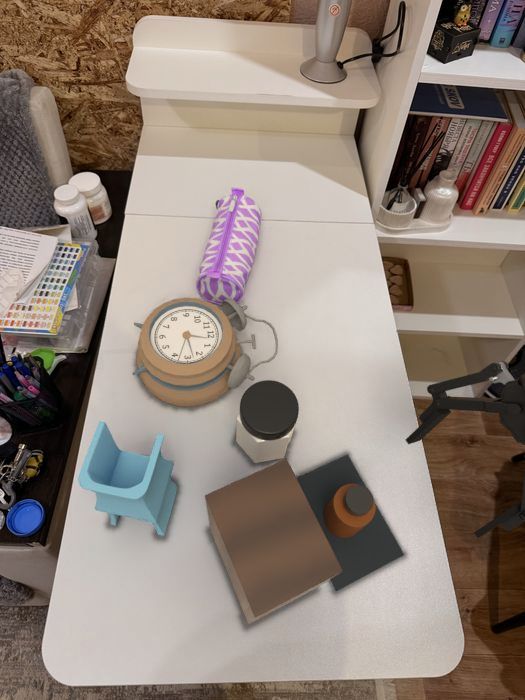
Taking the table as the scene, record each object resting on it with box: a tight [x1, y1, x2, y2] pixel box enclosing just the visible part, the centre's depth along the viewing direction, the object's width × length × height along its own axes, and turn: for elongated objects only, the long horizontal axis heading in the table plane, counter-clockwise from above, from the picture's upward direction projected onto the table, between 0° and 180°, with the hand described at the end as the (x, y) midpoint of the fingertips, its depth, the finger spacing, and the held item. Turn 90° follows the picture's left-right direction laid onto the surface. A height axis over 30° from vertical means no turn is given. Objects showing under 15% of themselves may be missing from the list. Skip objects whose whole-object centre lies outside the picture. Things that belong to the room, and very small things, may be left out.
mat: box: [296, 454, 405, 592], centre depth 74 cm, size 16×11×1 cm
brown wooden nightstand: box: [204, 458, 343, 625], centre depth 62 cm, size 13×10×20 cm
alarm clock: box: [131, 297, 279, 408], centre depth 82 cm, size 17×9×23 cm
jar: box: [235, 379, 300, 464], centre depth 75 cm, size 9×8×12 cm
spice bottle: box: [324, 484, 377, 538], centre depth 69 cm, size 6×6×11 cm
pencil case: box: [196, 187, 263, 306], centre depth 93 cm, size 22×9×10 cm, turn 173°
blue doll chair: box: [77, 420, 178, 537], centre depth 65 cm, size 8×8×20 cm
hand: (445, 484), depth 65 cm, fingers open, 13 cm apart
